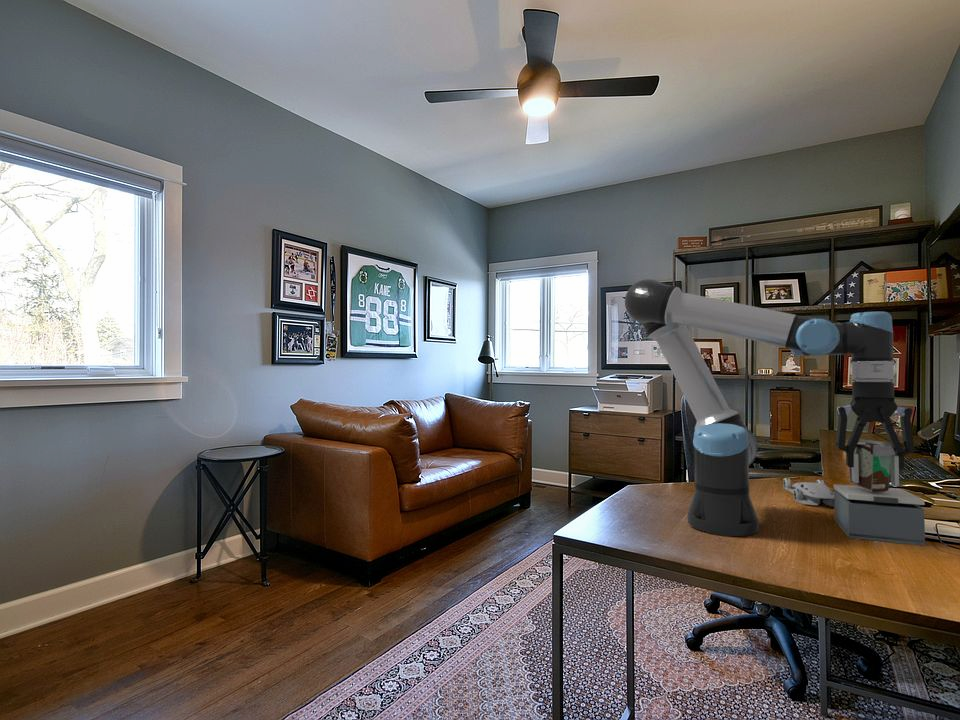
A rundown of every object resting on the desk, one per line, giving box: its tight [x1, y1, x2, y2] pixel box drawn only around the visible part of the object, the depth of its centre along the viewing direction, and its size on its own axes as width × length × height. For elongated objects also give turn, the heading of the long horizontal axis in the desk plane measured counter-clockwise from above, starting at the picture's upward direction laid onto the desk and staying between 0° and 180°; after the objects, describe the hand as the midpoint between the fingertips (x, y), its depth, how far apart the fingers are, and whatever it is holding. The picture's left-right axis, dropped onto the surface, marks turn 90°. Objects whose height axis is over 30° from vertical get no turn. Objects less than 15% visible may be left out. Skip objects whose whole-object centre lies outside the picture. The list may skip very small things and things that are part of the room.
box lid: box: [833, 483, 926, 506], centre depth 115 cm, size 13×15×1 cm
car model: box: [782, 477, 835, 508], centre depth 145 cm, size 11×24×5 cm, turn 161°
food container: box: [846, 438, 895, 492], centre depth 115 cm, size 12×6×10 cm, turn 168°
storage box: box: [833, 488, 926, 546], centre depth 115 cm, size 13×14×8 cm
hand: (874, 482), depth 115 cm, fingers closed on food container, 7 cm apart
